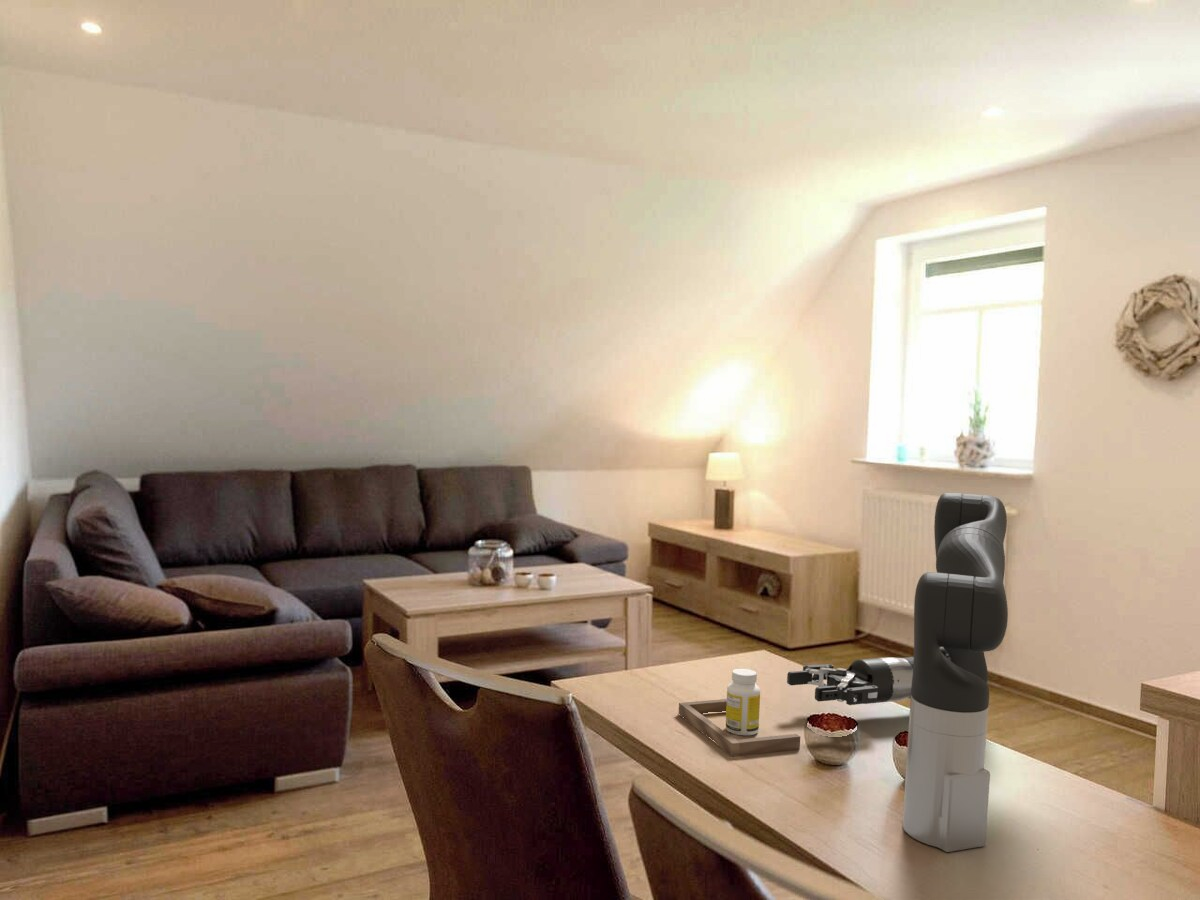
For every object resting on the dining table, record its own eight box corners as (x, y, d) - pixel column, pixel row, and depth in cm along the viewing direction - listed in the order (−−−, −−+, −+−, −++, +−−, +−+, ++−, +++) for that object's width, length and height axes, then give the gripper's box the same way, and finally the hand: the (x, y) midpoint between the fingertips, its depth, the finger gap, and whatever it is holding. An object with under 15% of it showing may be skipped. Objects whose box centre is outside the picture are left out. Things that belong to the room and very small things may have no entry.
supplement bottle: (757, 726, 154) (760, 668, 153) (759, 737, 149) (762, 678, 148) (724, 723, 155) (727, 666, 154) (725, 735, 149) (728, 675, 149)
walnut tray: (799, 749, 144) (800, 736, 144) (731, 756, 140) (732, 743, 140) (740, 709, 162) (740, 697, 162) (678, 714, 158) (679, 702, 158)
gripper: (858, 647, 167) (780, 652, 162) (910, 670, 154) (827, 677, 148) (855, 688, 168) (778, 694, 162) (907, 714, 154) (824, 722, 149)
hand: (801, 686), depth 155 cm, fingers open, 8 cm apart
